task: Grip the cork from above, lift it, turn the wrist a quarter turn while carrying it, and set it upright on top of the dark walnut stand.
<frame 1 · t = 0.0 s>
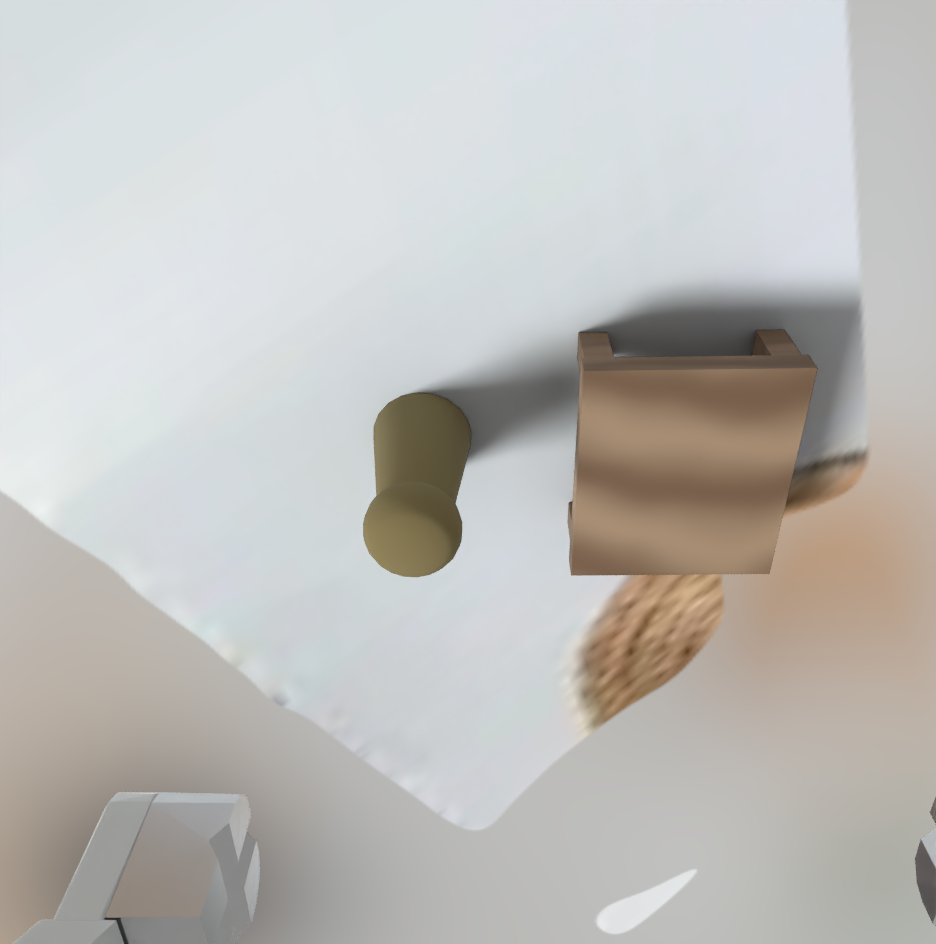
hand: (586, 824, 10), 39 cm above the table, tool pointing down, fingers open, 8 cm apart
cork: (422, 434, 53), on the table
walnut stand: (668, 433, 53), on the table
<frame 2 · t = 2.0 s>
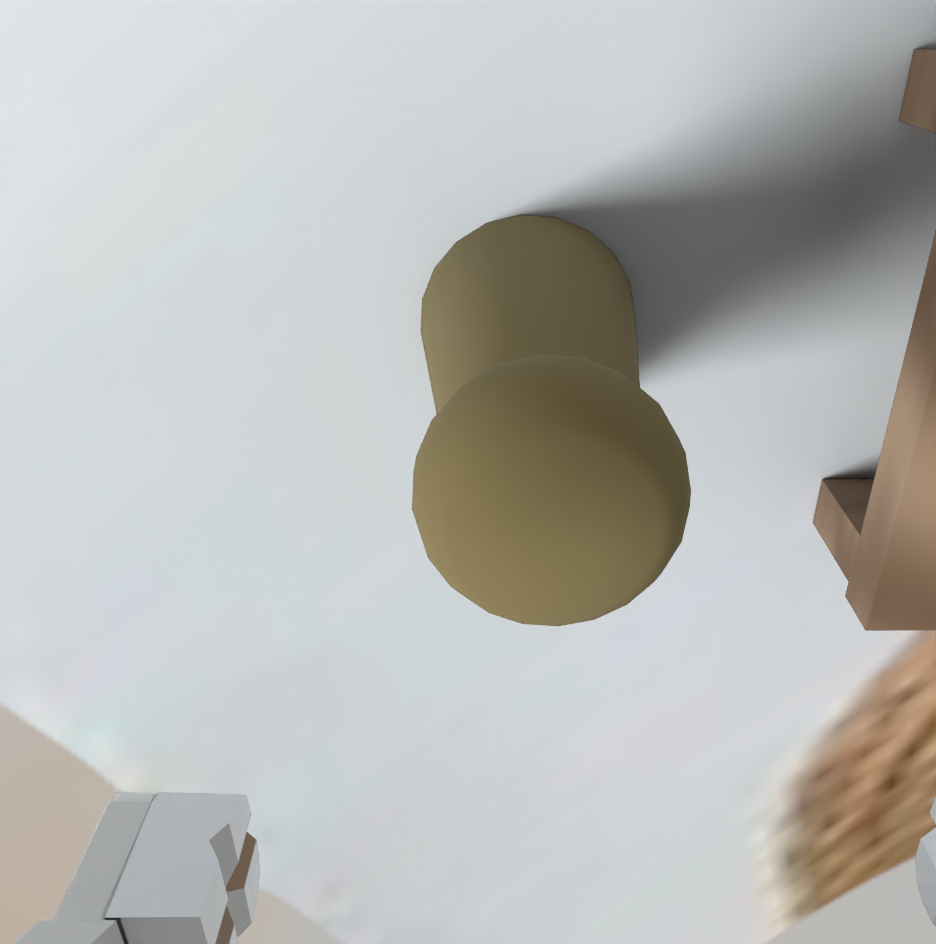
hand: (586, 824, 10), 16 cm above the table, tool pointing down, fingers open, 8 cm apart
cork: (526, 320, 25), on the table
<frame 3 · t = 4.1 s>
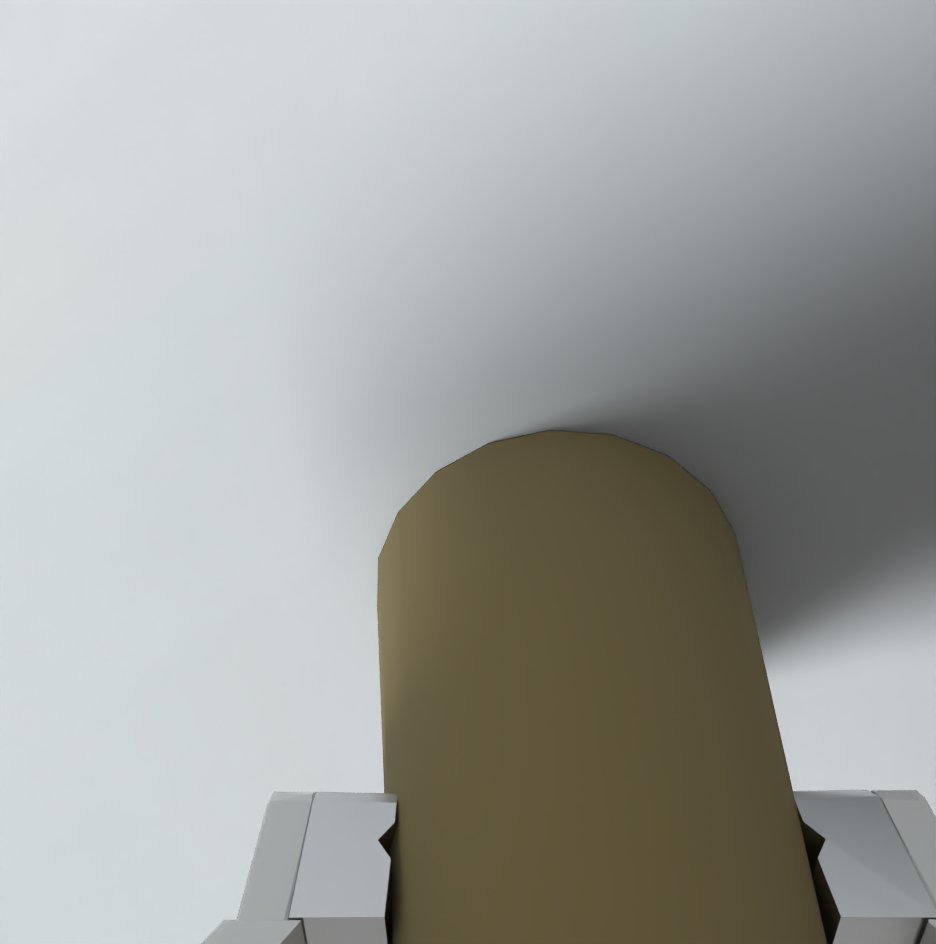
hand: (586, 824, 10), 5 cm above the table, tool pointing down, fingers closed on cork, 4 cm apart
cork: (556, 586, 15), on the table, touching gripper
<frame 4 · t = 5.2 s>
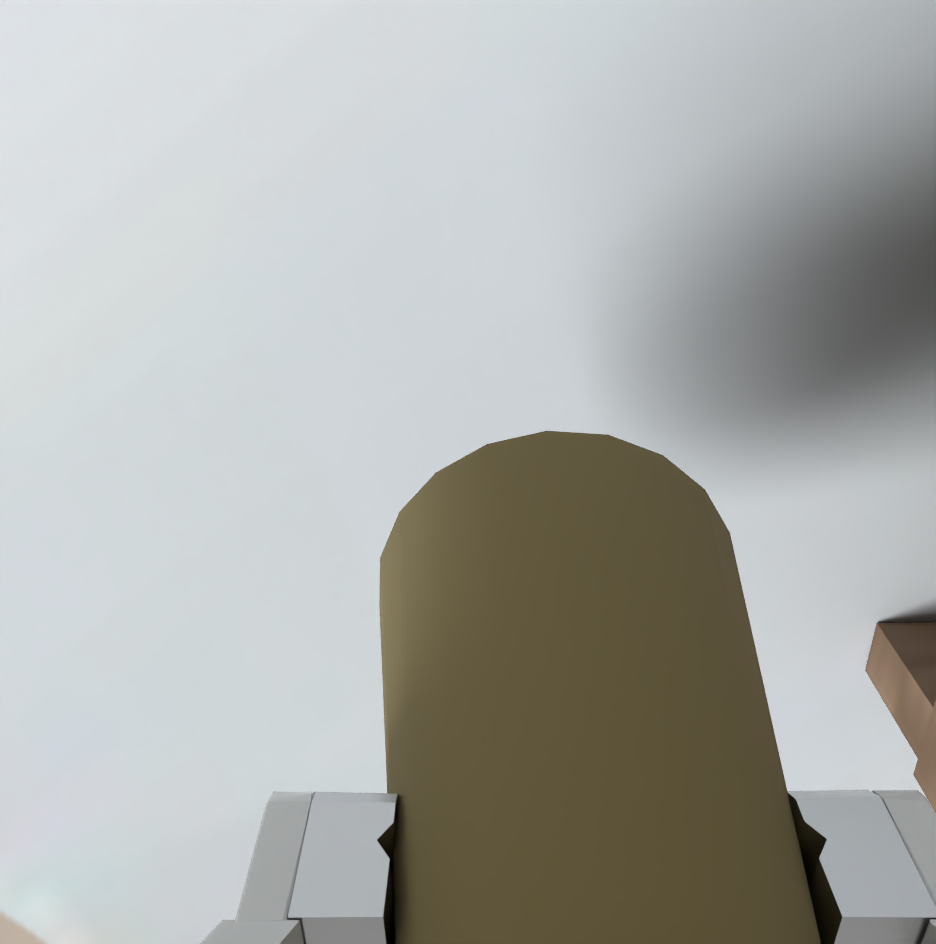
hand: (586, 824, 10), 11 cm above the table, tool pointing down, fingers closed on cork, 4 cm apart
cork: (554, 584, 15), point 6 cm above the table, touching gripper
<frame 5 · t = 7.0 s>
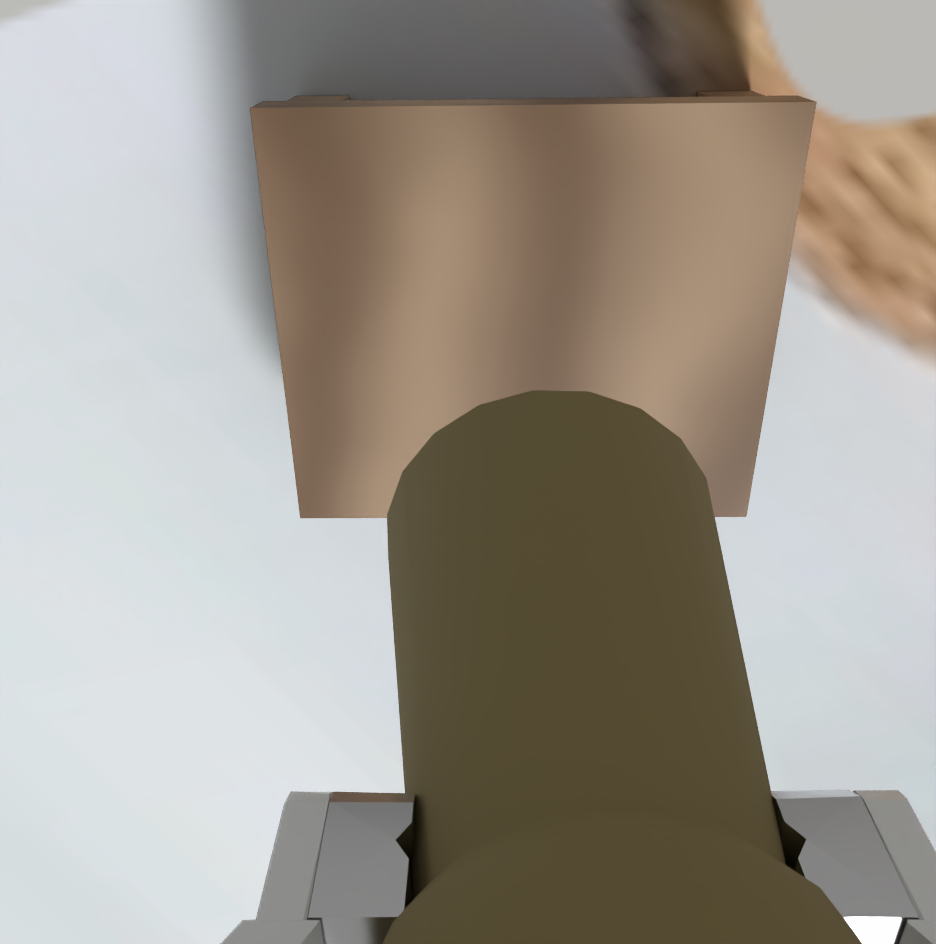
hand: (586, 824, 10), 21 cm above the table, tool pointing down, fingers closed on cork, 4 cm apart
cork: (548, 533, 16), point 15 cm above the table, touching gripper
walnut stand: (519, 283, 29), on the table
when the fingers open (11 cm above the table, at t = 8.8 s): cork stays where it is, resting on walnut stand.
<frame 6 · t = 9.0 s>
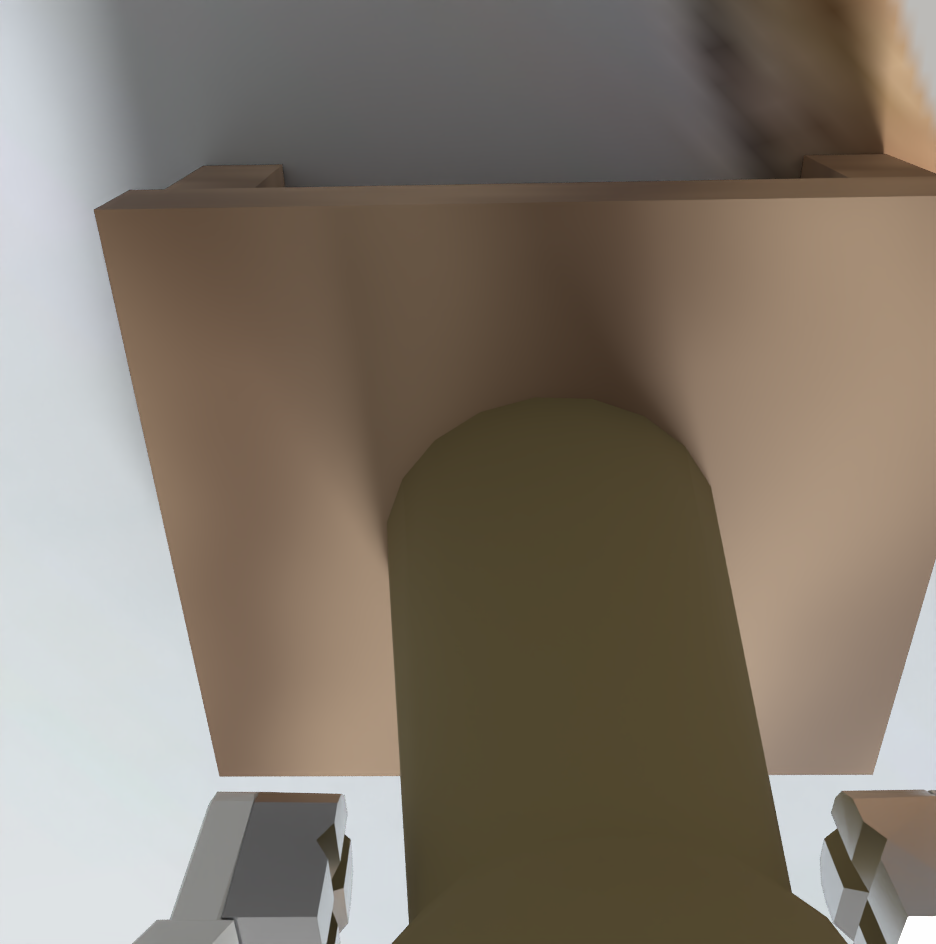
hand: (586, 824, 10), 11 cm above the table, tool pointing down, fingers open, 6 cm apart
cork: (550, 542, 16), point 5 cm above the table, touching walnut stand
walnut stand: (536, 422, 20), on the table
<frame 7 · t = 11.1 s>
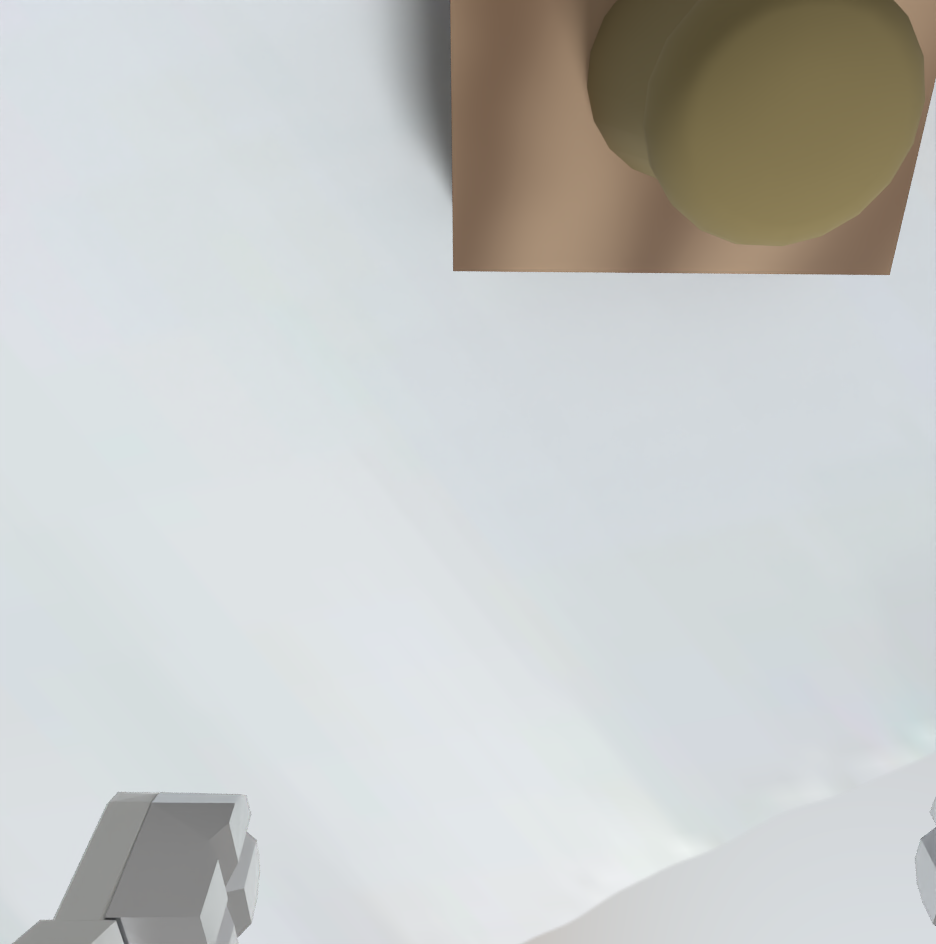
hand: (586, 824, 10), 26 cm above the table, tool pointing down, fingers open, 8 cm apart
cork: (690, 73, 25), point 5 cm above the table, touching walnut stand
walnut stand: (664, 58, 30), on the table
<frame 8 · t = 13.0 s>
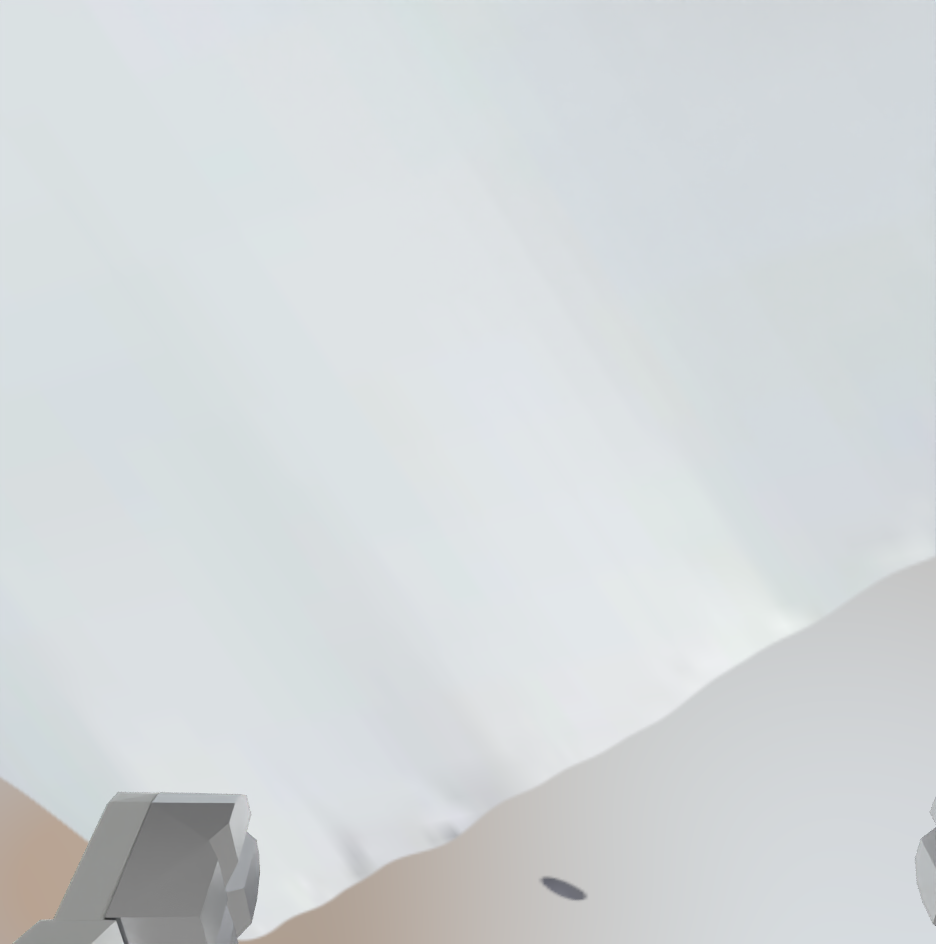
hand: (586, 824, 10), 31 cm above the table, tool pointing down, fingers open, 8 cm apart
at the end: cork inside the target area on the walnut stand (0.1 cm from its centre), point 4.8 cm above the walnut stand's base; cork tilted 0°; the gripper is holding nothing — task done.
